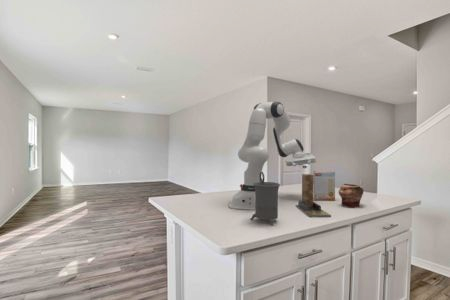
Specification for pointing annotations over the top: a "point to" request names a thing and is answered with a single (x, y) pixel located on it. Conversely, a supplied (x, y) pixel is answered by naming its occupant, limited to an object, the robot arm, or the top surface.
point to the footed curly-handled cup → (266, 200)
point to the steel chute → (312, 210)
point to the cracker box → (324, 185)
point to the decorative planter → (351, 195)
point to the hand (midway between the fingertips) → (301, 164)
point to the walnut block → (307, 189)
